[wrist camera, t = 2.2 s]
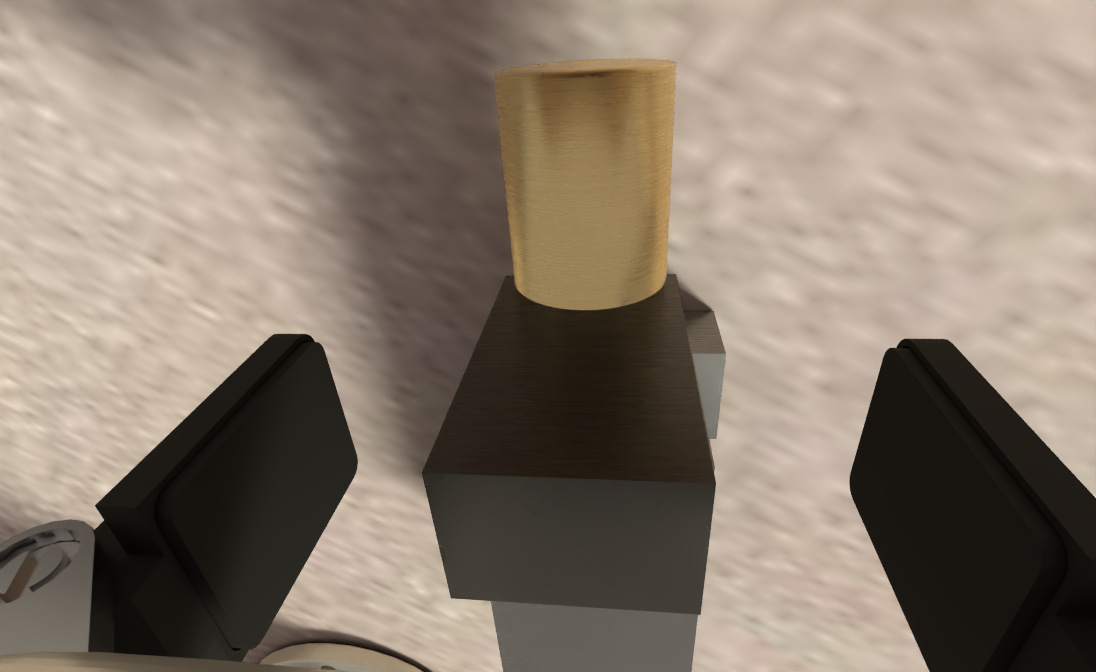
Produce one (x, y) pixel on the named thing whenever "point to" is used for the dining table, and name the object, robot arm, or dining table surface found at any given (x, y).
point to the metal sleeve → (613, 634)
